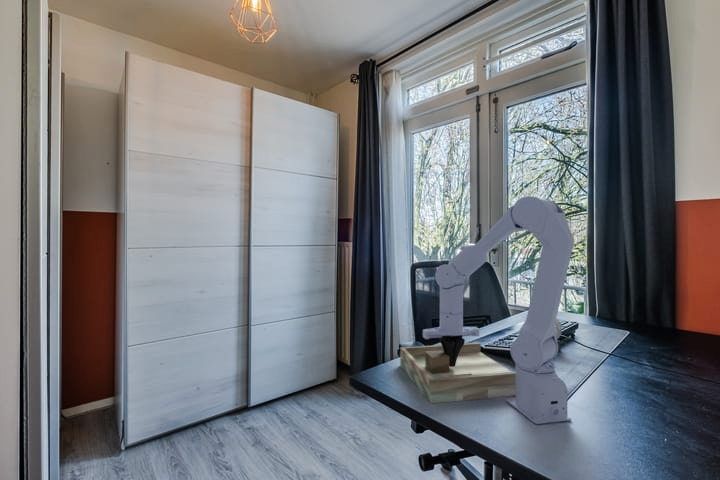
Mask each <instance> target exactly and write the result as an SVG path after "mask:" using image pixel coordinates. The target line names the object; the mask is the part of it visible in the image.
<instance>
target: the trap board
mask: <svg viewBox="0 0 720 480" xmlns="http://www.w3.org/2000/svg"><path fill="white" fill-rule="evenodd" d="M481 347H482V346H481V343H480V342H469V343H466V342H465V343H464V345H463V346H462V348H461V350H460V352H459V354H458V357H457V360H456V365H455V367H450V366H449V373H439V374H432V373H431V372H430V371H429V370H428V369H427V368H426V367H425V352H426V351H440V350H442V351H443V352H444V349H443V347H442V344H436V345H434V344H433V345H421V346H419V345H418V346H405V347H400V348H399V351H400V353H399V354H400V355H399V360H400V362H399V364H400V367H401V368H402V370H403V371H404V372H405V373H406V374H407V375H408V377H409V378H410V380H411V381H412V382H413V383H414V384H415V385H416V387H417V388H418V390H420V392H421V393H422V395H423V396H424V398H426V399H427V401H428V402H429V403H430V404H439V403H452V402H462V401H471V400H481V399H493V398H503V397H514V396H515V397H516V371H511V370H509V369H508V368H506V367H505V366H503V365H501V364H500V363H498V362H497V361H495V360H494V359H492V358H491V357H489V356H487V355H486V354H484V353H483V352H481V350H482V349H481ZM444 353H445V352H444Z"/></svg>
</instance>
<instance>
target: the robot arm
mask: <svg viewBox="0 0 720 480" xmlns="http://www.w3.org/2000/svg"><path fill="white" fill-rule="evenodd" d="M522 231H523V232H524V231H528V232H529V233H530V234H532V235H533V236H534V238H535V239H536V240H537V241H538V242H539V243H540V244H541V246H542V247H541V251H540V257H539V261H538V265H537V269H536V273H535V274H536V275H535V279H534V282H533V286H532V287H533V288H532V291H531V297H530V301H529V306H528V311H527V316H526V318H525V321H524V322H523V324H522V325H521V327H520V329H519V332H518V335H517V337H516V339H515V340H513V342H512V343H511V346H510V350H509V352H510V356H511V359H512V360H513V362H514V363H515V372H516V396H515V397H510V398H509V397H508V398H506V402H507V403H509V404H510V405H511V406H512V407H514V409H516V410H518V412H520V413H522V414H523V415H524V416H525V417H526V418H527V419H529V420H530V421H531V422H532V423H534V424H537V425H539V424H541V425H542V424H548V423H549V424H550V423H557V422H567V421H571V420H572V417H571V416H570V415H568V387H567V385H566V383H565V381H564V380H562V379H561V378H560V376H558V375H557V373H556V370H555V369H556V368H555V364H554V361H553V358H555V357H556V356H557V354H558V352H559V351H558V344H557V340H558V339H557V340H556V334H557V329H556V327H557V326H556V325H555V321H556V318H557V315H558V312H559V307H560V304H561V299H562V296H563V295H562V294H563V290H564V286H565V282H566V278H567V274H568V273H567V272H568V270H569V265H570V261H571V257H572V252H573V249H574V244H575V238H574V235H573V233H572V230H571V228H570V226H569V223H568V221H567V219H566V211H565V210H564V209H563V208H562V207H561V206H560V205H558V204H557V202H555V201H553V200H552V199H547V198H546V199H544V198H539V197H537V196H532V195H525V196H523V197H520V198H519V199H518V200H517V201H516V202H515V203H514V205H512V206H510V207H509V208H507V209H506V211H505V212H504V214H503V215H502V216H501V218H500V219H498V220H497V221H496V223H495V224H494V225H493V226H491V228H490V229H489V230H487V232H486V233H485V234H484V235H482V237H481V238H479V240H478V241H477V242H476V243H468V244H467V245H466V244H463V245H462V246H461V247H460V250H461V251H459V253H457V254H456V255H455V256H454V257H453V258H449V260H448V264H441V265H439V266H438V268H437V269H436V271H435V274H434V278H435V281H436V284H437V285H438V286H439V326H437V327H432V328H425V329H422V338H423V339H425V340H429V339H438V341H439V342H440V345H442V347H443V349H444V352H445V353H446V354H447V355H448V356H449V366H450V367H455V365H456V360H457V357H458V354H459V352H460V350H461V348H462V346H463V345H464V344H465V343H466V342H465V338H464V337H471V336H473V337H480V328H478V327H477V326H464V287H465V285H466V284H467V282H468V279H469V277H470V276H471V275H472V274H473V273H474V272H476V271H477V270H478V269H479V268H480V267H482V266H483V265H484V264H486V262H487V255H488V253H489V252H491V251H492V250H493V249H494V248H496V247H498V245H500V244H501V243H502V242H503V241H505V240H506V239H507V238H509V237H510V236H511V235H512V234H513V233H518V232H522Z"/></svg>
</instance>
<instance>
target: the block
mask: <svg viewBox="0 0 720 480" xmlns="http://www.w3.org/2000/svg"><path fill="white" fill-rule="evenodd" d="M425 367H426V368H427V369H428V370H429V371H430V372H431V373H432V374H439V373H449V356H448V355H447V354H446V353H444V352H443V351H442V350H440V351H426V352H425Z"/></svg>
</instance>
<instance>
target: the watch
mask: <svg viewBox="0 0 720 480" xmlns="http://www.w3.org/2000/svg"><path fill="white" fill-rule="evenodd" d="M555 327H556V329H557V334H556V340H557V344H558V352H561V350H562V349H561V347H562V346H561V344H562V343H561V340H558V339H559V338H560V336H561V335H562V332H563V330H562V327H563V326H562V324H561V321H560V320H559V319H558V318H557V317H556V321H555Z"/></svg>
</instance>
